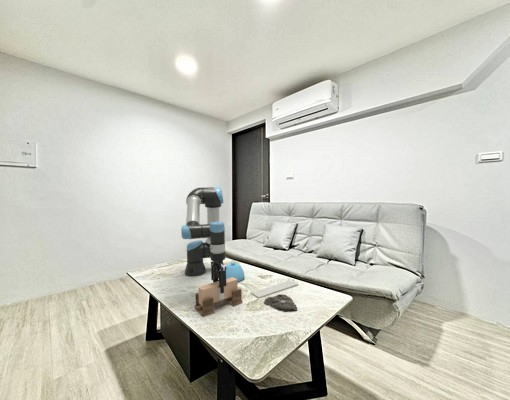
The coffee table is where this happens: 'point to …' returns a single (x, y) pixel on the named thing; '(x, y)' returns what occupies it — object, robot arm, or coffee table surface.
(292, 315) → the coffee table surface
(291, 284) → the baseboard
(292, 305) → the dark grey rock
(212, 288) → the peach rectangular block
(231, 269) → the sugar bowl
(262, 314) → the coffee table surface
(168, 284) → the coffee table surface
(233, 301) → the rack
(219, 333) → the coffee table surface
